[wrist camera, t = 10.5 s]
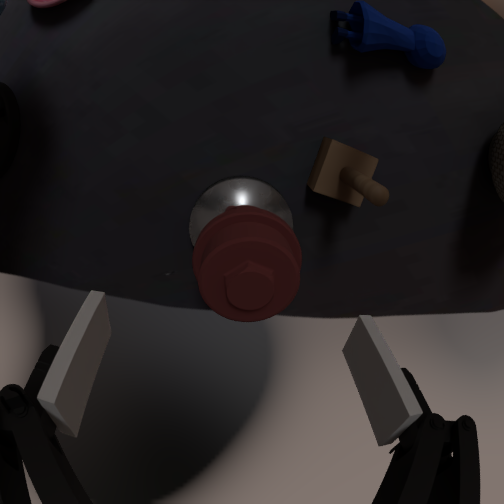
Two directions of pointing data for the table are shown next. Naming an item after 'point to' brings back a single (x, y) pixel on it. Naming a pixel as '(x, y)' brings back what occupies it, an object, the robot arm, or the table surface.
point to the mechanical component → (247, 264)
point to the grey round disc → (236, 201)
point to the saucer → (45, 3)
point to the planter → (497, 161)
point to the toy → (389, 36)
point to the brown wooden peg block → (346, 174)
